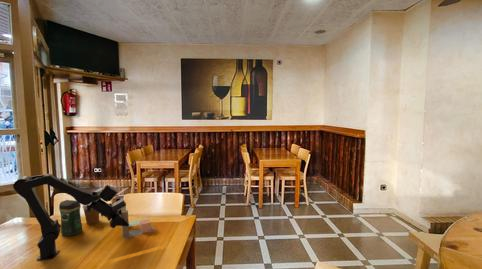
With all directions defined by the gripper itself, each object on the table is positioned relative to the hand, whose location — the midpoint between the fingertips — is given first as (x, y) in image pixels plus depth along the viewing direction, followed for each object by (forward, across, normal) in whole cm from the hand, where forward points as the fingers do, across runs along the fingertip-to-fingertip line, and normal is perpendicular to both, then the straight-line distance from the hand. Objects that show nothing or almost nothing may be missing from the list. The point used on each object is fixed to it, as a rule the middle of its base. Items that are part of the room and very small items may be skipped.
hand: (128, 223), depth 130 cm
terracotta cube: (+10, 0, -2) cm, 10 cm away
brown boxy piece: (+8, 0, +1) cm, 9 cm away
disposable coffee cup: (-7, +30, +17) cm, 35 cm away
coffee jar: (-14, +21, +24) cm, 35 cm away
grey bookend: (+8, +13, +1) cm, 16 cm away
